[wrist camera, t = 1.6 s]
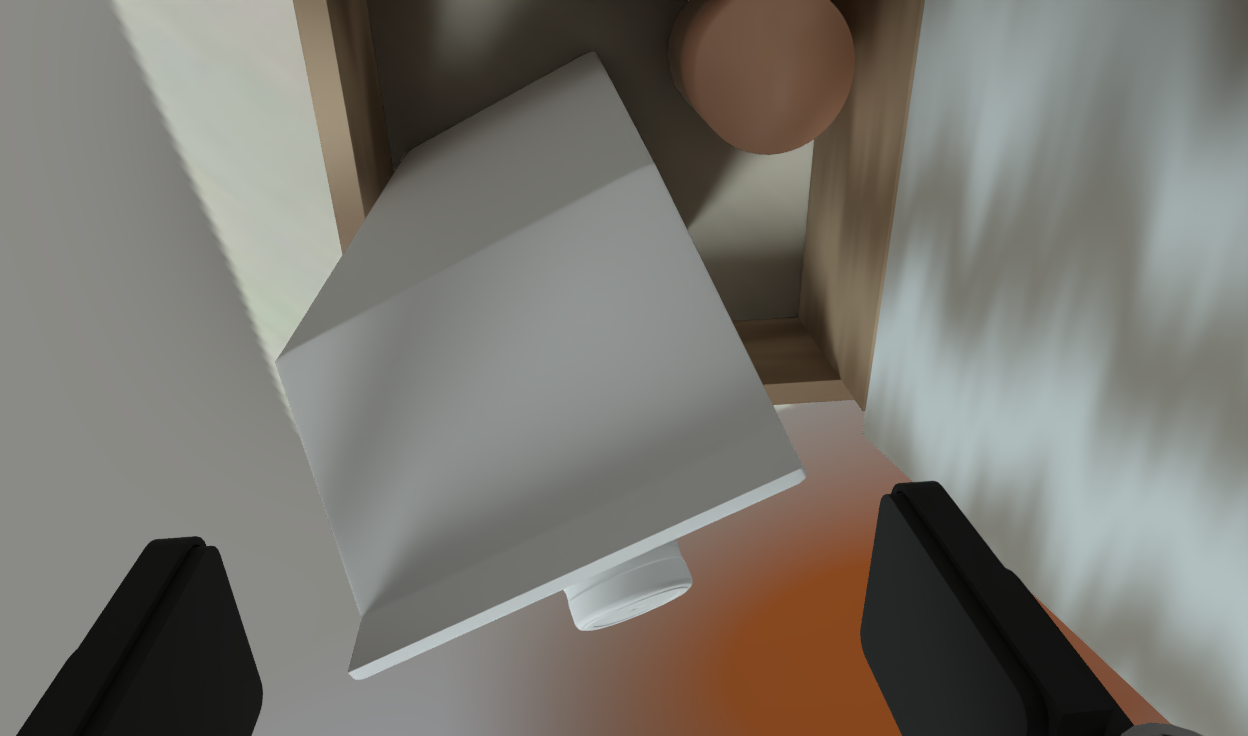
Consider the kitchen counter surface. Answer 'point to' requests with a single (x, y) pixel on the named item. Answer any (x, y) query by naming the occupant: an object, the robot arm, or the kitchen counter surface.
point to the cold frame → (1013, 296)
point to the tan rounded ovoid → (763, 69)
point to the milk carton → (525, 380)
